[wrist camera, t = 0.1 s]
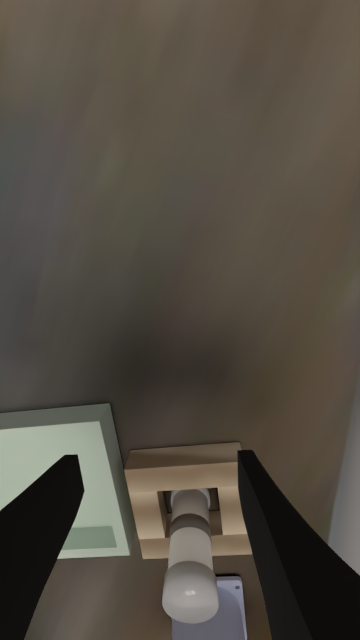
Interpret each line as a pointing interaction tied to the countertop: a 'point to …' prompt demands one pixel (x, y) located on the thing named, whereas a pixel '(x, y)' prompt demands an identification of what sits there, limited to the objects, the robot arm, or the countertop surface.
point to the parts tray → (95, 463)
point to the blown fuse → (190, 559)
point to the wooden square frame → (179, 474)
